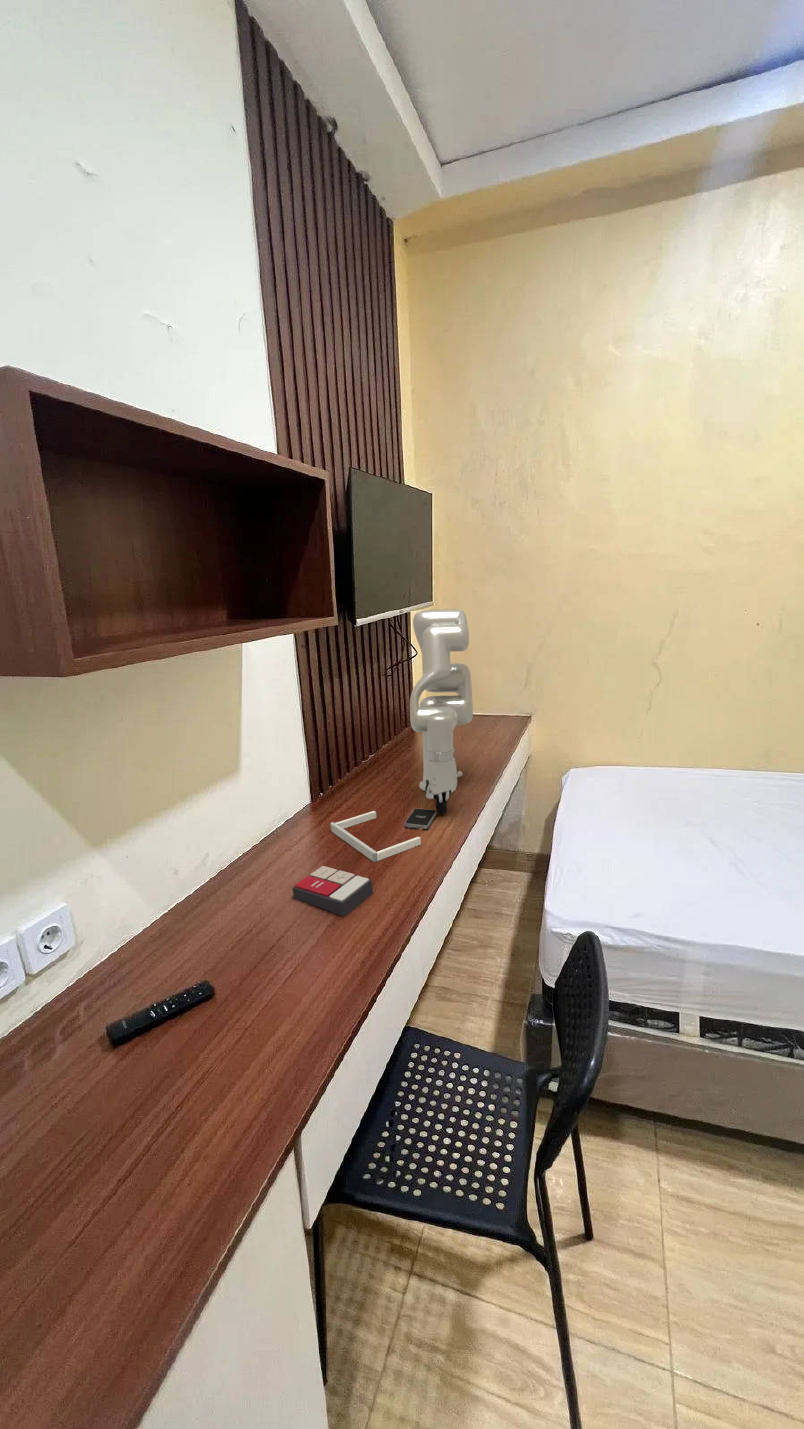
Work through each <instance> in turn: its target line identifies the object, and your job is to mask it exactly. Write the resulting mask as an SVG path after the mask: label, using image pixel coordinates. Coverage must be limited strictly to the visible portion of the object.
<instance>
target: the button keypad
mask: <svg viewBox="0 0 804 1429" xmlns="http://www.w3.org/2000/svg"><path fill="white" fill-rule="evenodd" d="M373 893H374V892H373V883H372V879H370V878H367V877H363V876H360V875H356V874H354V873H351V872H347V871H344V870H338V869H336V868H332V867H328V866H325V865H322V866H321V867H319V868H317V869H316V870H315V871H313V872H311V873H310V875H308V876H306V877H304V878H303V879H302V880H300V881H299V882H297V883H295V884H294V886H292V894H293V895H292V896H293V899H296V900H298V901H300V902H304V903H306V904H309V905H311V906H315V907H317V908H321V909H324V910H326V911H328V912H330V913H333V914H334V915H338V916H340V917H346V916H347V915H349V914H350V913H351V912H352V911H353V910H355V909H356V908H357V907H358V906H360V904H362V903H363V902H365V901H366V899H368V898H369V897H370V896H372V895H373Z"/></svg>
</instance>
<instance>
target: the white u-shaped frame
mask: <svg viewBox="0 0 804 1429" xmlns="http://www.w3.org/2000/svg"><path fill="white" fill-rule="evenodd" d="M374 819H377V811H376V810H372V811H369V812H366V813H363V814H359V815H357V816H353V817H350V818H347V819H343V820H340V821H337V822H334V821H332V822H330V824H329V825H330V831H331V833H332V834H335V836H337V837H338V838H340V839H341V840H342V841H344V842H346V843H347V844H348V845H349V846H351V847H352V848H354V849H355V850H357V851H358V852H360V853H361V854H362V855H364V856H365V857H366V858H368V859H369V860H370V861H372V862H374V863H376V862H378V861H381V860H384V859H386V858H390V857H391V856H394V855H398V854H400V853H402V852H405V851H408V850H410V849H413V848H415V846H416V847H418V845H419V846H421V844H422V842H421V841H422V840H421V839H422V838H421V837H420V836H416V837H414V838H410V839H408V840H405V841H403V842H400V843H396V844H394V845H392V846H389V847H387V848H383V849H381V850H379V851H376V850H375V849H373V848H372V847H370V846H369V845H367V844H366V843H365V842H363V841H361V840H360V839H358V838H357V837H355V836H354V835H352V833H350V832H349V831H348V830H346V829H347V828H349V827H353V826H356V825H359V824H362V823H365V822H368V821H371V820H374Z"/></svg>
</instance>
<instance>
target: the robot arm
mask: <svg viewBox="0 0 804 1429" xmlns="http://www.w3.org/2000/svg"><path fill="white" fill-rule="evenodd" d="M467 620H468V619H467V615H466V612H464V610H462V609H458V608H456V609H455V608H454V609H452V608H451V609H448V608H447V609H425V610H421V611H418V612H416V613H415V614H414V615H413V618H412V625H413V631H414V635H415V638H416V641H417V644H418V646H419V649H420V652H421V661H422V662H421V668H422V676H421V678H420V679H419V680H418V681H417V682H416V683H415V685H414V686H413V689H412V691H411V694H410V698H409V717H410V718H409V720H410V726H411V728H412V730H413V731H414V732H417V733H422V760H423V761H422V762H423V774H422V775H423V776H422V777H423V778H422V780H421V781H420V782H419V783H418V784H419V789H420V790H421V791H423V792H426V794H425V797H426V798H427V799H428V800H430V799H431V800H432V799H433V800H434V801H435V810H436V813H438V814H440V815H446V814H447V813H448V806H447V805H448V800H449V798H450V795H451V794H452V793H453V792H454V791H456V789H457V786H458V778H460V777H463V772H462V771H461V770H459V771H457V762H456V758H455V757H454V753H455V751H456V748H455V747H454V730H455V728H456V726H458V725H466V724H469V723H470V722H471V721H472V720H473V715H474V710H473V709H474V706H473V705H474V704H473V692H472V691H473V688H472V676H471V670H470V669H469V666H468V665H467V664H464V663H451V652H464V651H466V650H467V649H468V647H469V644H470V632H469V626H468V621H467ZM424 691H426V692H428V693H433V694H435V693H438V694H439V693H441V694H442V693H456V695H431V696H426V697H424V698H423V699H422V700H420V698H421V695H422V693H423V692H424Z"/></svg>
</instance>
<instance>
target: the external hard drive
mask: <svg viewBox="0 0 804 1429" xmlns="http://www.w3.org/2000/svg"><path fill="white" fill-rule="evenodd" d="M436 817H437V812H436V809H425V808H413V810H412V812H410V814H409V816H408V817H407V819H406V820H405V822H404V827H405V829H408V828H409V830H417V829H419V828H423V829H422V830H421V831H428V830H429V829H430V827H431V825H432V824H433V822H434V820H435V818H436Z"/></svg>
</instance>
